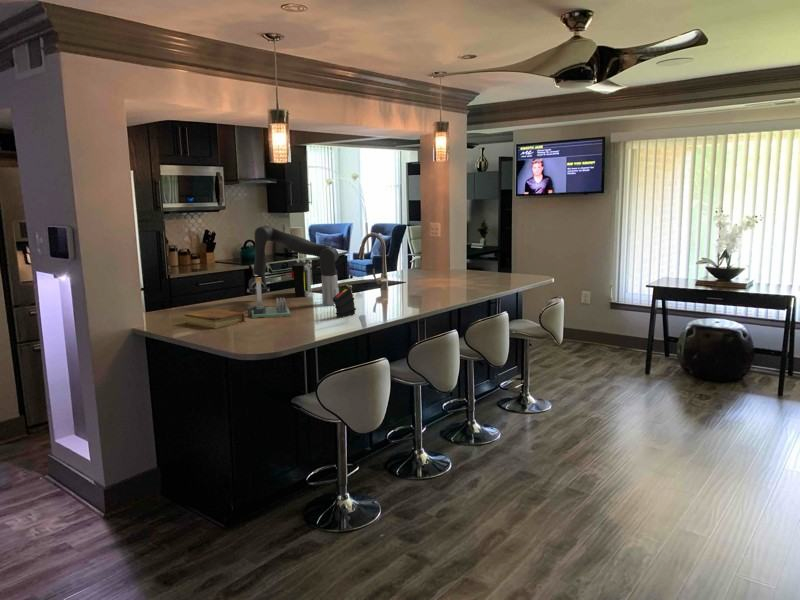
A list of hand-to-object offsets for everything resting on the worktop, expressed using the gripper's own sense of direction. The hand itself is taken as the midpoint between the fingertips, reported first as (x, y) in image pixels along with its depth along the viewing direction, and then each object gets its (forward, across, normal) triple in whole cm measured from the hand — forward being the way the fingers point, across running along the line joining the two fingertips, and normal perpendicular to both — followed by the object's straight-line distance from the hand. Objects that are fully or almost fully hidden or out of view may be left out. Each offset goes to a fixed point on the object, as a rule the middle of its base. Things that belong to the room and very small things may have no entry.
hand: (258, 292), depth 335 cm
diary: (+27, +22, -11) cm, 37 cm away
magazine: (+27, -44, -11) cm, 53 cm away
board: (+9, -6, -10) cm, 15 cm away
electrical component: (-49, -28, -10) cm, 57 cm away
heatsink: (+9, -4, -10) cm, 14 cm away
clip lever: (+3, +1, -9) cm, 9 cm away
